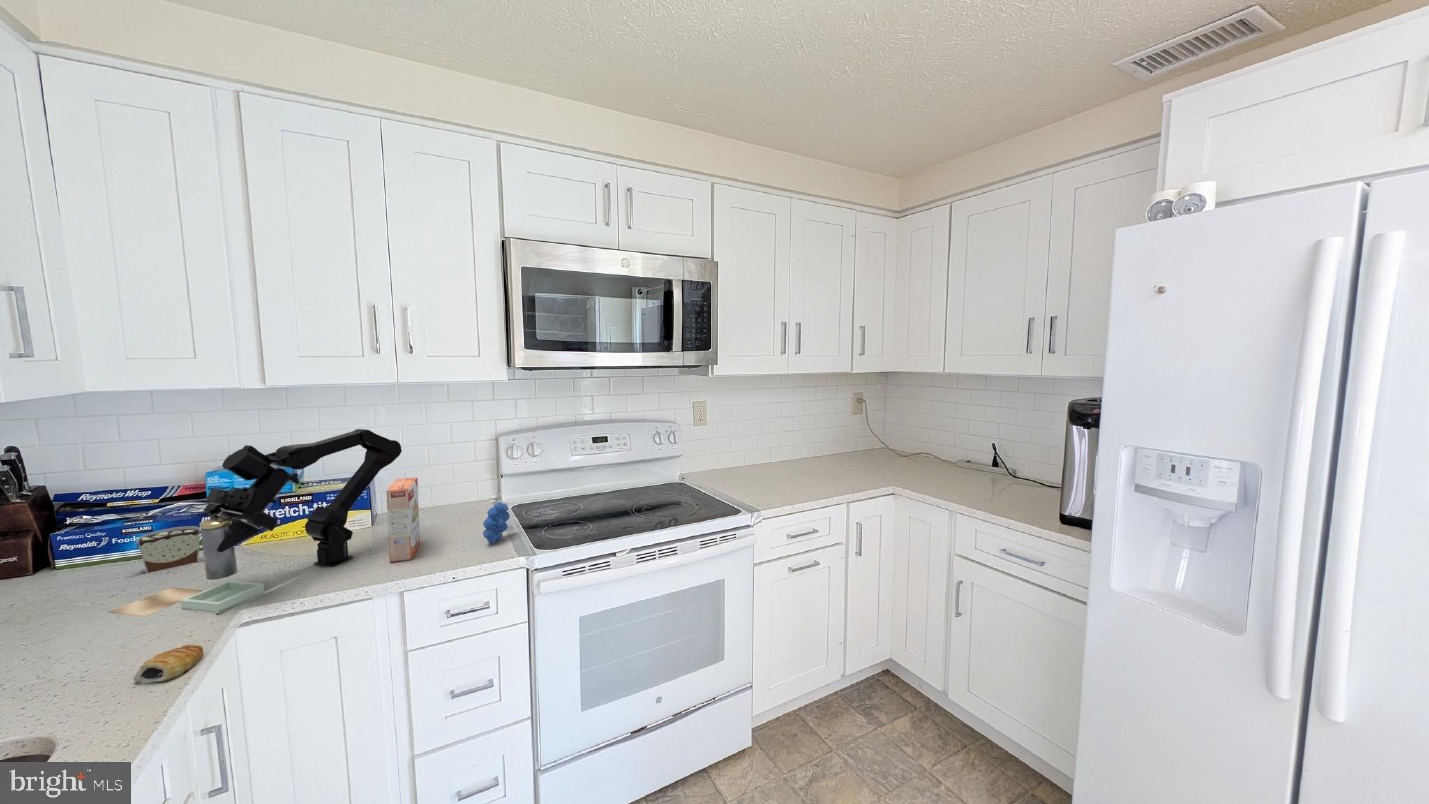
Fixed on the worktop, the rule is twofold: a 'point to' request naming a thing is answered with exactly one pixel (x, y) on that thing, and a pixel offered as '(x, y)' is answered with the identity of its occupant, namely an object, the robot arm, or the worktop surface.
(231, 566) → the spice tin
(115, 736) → the worktop surface
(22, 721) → the worktop surface
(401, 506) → the cracker box
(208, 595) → the dish
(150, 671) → the pastry
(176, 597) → the cork mat
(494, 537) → the grapes
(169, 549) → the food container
